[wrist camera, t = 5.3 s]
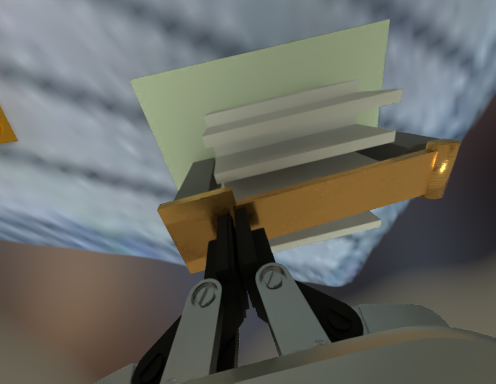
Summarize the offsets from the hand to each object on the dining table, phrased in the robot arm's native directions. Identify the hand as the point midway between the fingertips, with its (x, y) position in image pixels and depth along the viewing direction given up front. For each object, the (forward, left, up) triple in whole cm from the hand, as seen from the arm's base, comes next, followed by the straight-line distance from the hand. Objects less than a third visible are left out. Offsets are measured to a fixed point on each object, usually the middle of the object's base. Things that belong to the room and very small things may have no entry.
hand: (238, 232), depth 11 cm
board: (-5, 0, -13) cm, 14 cm away
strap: (-5, 0, -1) cm, 5 cm away
